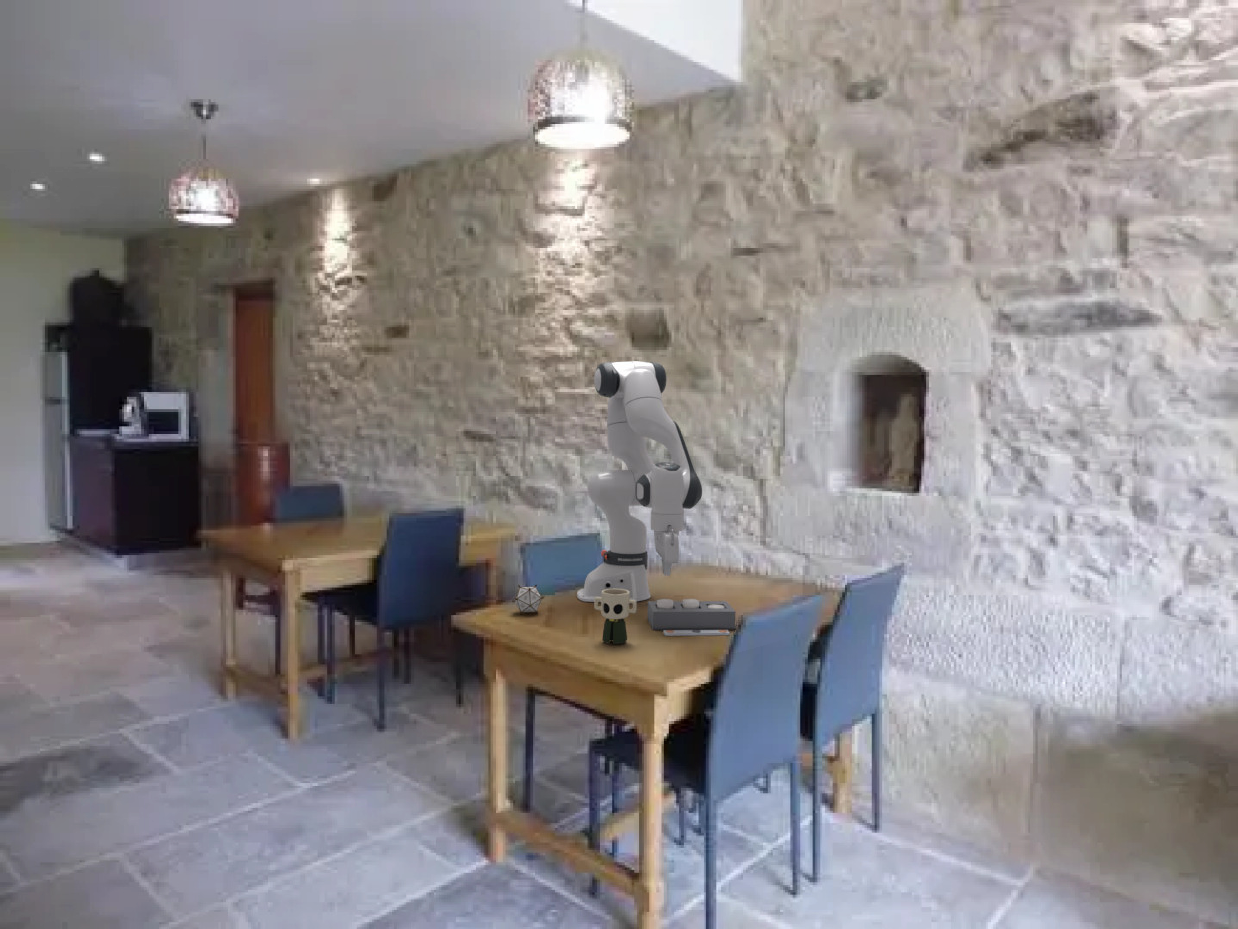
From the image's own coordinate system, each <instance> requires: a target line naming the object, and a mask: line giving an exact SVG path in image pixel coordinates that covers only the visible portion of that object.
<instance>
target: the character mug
mask: <svg viewBox="0 0 1238 929" xmlns="http://www.w3.org/2000/svg"><path fill="white" fill-rule="evenodd" d="M598 601H601V602H600V605H599V602H598ZM637 602H638V601H637ZM637 602H636V600H630V592H629V591H628V590H625V589H605V590H602V593H601V597H595V599H594V602H593V603H594V610H597V611H600V614H601V617H603V618H605V620H604V624H603V630H602V638H601V640H602V641H603V642H604V643H607V644H610V643H611V642H612V643H613V645H614V644H615V645H616V644H617V645H618V644H619V645H620V644H624V643H626V641H627V640H628V635H627V634H628V633H627V625H626V618H628V617H629V614H630V613H632V614H636V612H637V604H638V603H637ZM630 604H632V608H630Z"/></svg>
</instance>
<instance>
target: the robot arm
mask: <svg viewBox="0 0 1238 929" xmlns="http://www.w3.org/2000/svg"><path fill="white" fill-rule="evenodd" d="M593 383H594V384H593V385H594V388H595V391H596V392H597V394H598V395H600V396H601V397H604V398H605V397H606V398H608V403H607V408H606V409H607V413H606V423H607V424H606V425H607V442H608V443H607V444H608V450H609V451H610V453H611V454H612V456H614V458H616V459H619V460H621V461H622V462H623V463H624V464H625V466H626V468H627V469H614V470H613V469H608V470H603V471H599V472H595V473H593V474H592V475H591V477H590V478H589V481H588V484H587V494H588V497H589V498H590V500H591V501H592V503H593V504H594V505H595V506H597V507H598V508H599V509H600V510H601V512H602V513H604V515H605V518H606V520H607V523H608V526H609V527H608V528H609V542H610V543H609V548H610V549H609V550H608V551H607V550H606V549H602V551H601V553H600V554H601V556H602V559H603V560H602V561H603V562H602V563H601V564H600V565H598V566H597V567H596V568H595V569H593V570H592V571H590V572H589V573H588V574H587V576H586V578H585V581H584V587H583V588H580V589H579V590H577V593H576V597H577V599H579V600H580V601H582V602H589V603H594V599H595V597H601V593H602V590H605V589H625V590H628V591H629V592H630V600H636V602H640V601H645V600H646V601H647V600H649V599H650V598H651V597H652V596H651V593H650V588H649V583H648V582H649V581H648V574H647V573H648V572H647V570H648V564H649V554H648V551H647V526H646V525H645V523H644V522H643V521H642V520H640V519H638V518H637V517H635V516H633V515H631V512H630V507H631V506H633V507H640V506H641V507H644V508H647V509H648V508H649V509H650V508H651V510H650V530H651V531H653V537H654V539H653V540H654V547H655V548H654V549H655V552H656V553H657V554H658V556H659V557H660V558H661V566H662V574H663V575H664V576H670V575H671V574H672V573H671V572H672V565H673V564H678V563H679V560H680V546H679V544H680V543H679V541H680V540H679V537H680V532H683V530H685V529H684V528H685V526H684V523H685V522H684V521H685V515H684V514H685V511H684V509H686V510H687V509H688V510H689V509H690V510H691V509H693V508H694V507H695V506H696V505H697V504H698V503H699V502H700V501H701V499H702V496H703V487H702V482H701V480H700V478H699V476H698V474H697V473H696V470H695V468H694V465H693V461H692V459H691V456H690V454H689V450H688V448H687V445H686V442H685V439H684V436H683V433H682V431H681V428H680V427H679V424H678V423H677V422H676V421H674V420H673V419H672V418H671V416H669V414H668V413H667V411H666V409H665V407H664V403H663V402H664V401H663V396H662V394H663V392H664V391H665V389H666V387H667V373H666V369H665V368H664V366H663V364H661V363H658V362H653V361H650V362H648V361H639V360H638V361H637V360H630V361H616V362H614V361H613V362H611V361H607V362H602V363H600V364H599V365H598V366H597V367H596V369H595V373H594V376H593ZM645 438H647V439H649V440H652V441H655V442H657V443H659V444H661V445H662V446H663V447H665V448H666V449H667V450H668V452H669V454H670V457H671V458H670V459H671V461H672V462H670V461H669V462H667V461H662V462H661V461H660V462H657V463H654V462H653V460H652V459H651V457H650V456H649V453H648V450H647V447H646V441H645ZM598 603H601V601H598Z"/></svg>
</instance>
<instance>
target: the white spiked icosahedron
mask: <svg viewBox="0 0 1238 929" xmlns="http://www.w3.org/2000/svg"><path fill="white" fill-rule="evenodd" d="M537 586H538V584H535V585H534V586H520V585H519V584H518V586H517V587H518V590H517V594H516V597H514V599H513V600H511V602H512V603H515V605H516V607H517V608H518V610H519V613H518V615H519V614H520V615H522V613H535V614H537V615H539V612H538V610H539V607H540V604H541V601H542V600H543V599H545V597H544V596H542V595H541V594H540V592H539V591H538V589H537Z"/></svg>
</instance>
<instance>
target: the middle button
mask: <svg viewBox="0 0 1238 929" xmlns="http://www.w3.org/2000/svg"><path fill="white" fill-rule="evenodd" d="M682 601H683V609H691V608H699V601H700V600H699V599H695V598H685V599H682Z"/></svg>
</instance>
